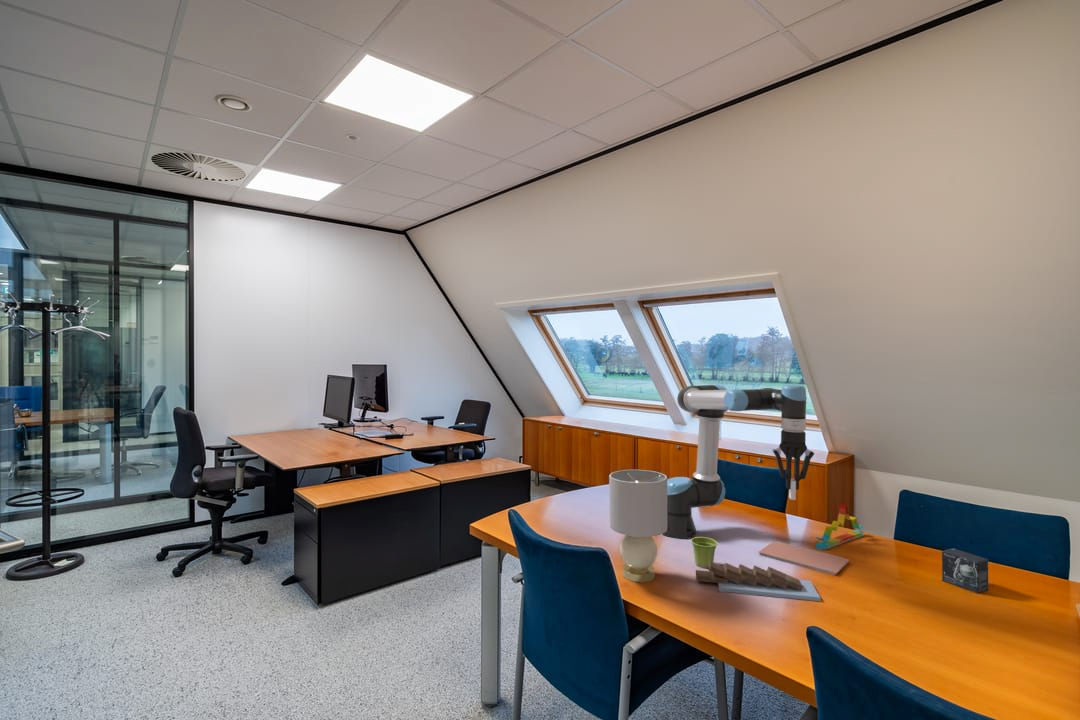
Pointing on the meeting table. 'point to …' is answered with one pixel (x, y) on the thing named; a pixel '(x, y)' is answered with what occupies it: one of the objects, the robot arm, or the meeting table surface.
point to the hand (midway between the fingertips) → (792, 498)
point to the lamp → (638, 518)
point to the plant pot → (703, 550)
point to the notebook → (804, 557)
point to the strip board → (772, 590)
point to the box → (965, 570)
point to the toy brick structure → (839, 539)
